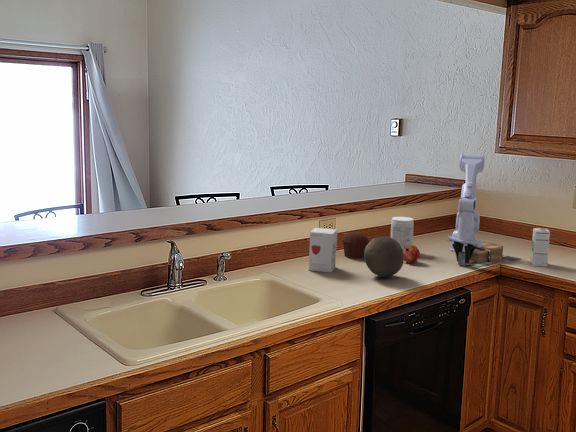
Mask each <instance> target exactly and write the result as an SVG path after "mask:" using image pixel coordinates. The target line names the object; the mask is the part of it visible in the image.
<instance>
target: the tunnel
mask: <svg viewBox="0 0 576 432" xmlns="http://www.w3.org/2000/svg"><path fill="white" fill-rule="evenodd" d="M482 242H483V245H482V247H477V246H476V249H482V250H487V251H489V252H490V255H489V261H488V262H489V263H490V264H492V263H495V262H499V261H502V260H503V259H502V257H503V255H504V254H503V251H504V245H502V244H497V243H492V242H487V241H482Z"/></svg>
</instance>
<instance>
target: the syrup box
mask: <svg viewBox="0 0 576 432" xmlns="http://www.w3.org/2000/svg"><path fill="white" fill-rule="evenodd" d="M550 235H551V231H550V230H549V229H548V228H543V227H542V228H541V227H540V228H539V227H536V228H535V227H533V229H532V239H531V249H530V250H531V251H530V261H529V262H530V264H531V265H532V266H536V267H548V262H549V261H548V260H549V248H550V238H551V237H550Z"/></svg>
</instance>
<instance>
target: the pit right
mask: <svg viewBox="0 0 576 432" xmlns="http://www.w3.org/2000/svg"><path fill="white" fill-rule="evenodd" d="M502 260H507V261H512V262H515V261H519V260H522V258H519V257H516V256H511V255H505V256H502Z"/></svg>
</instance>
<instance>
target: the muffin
mask: <svg viewBox="0 0 576 432" xmlns="http://www.w3.org/2000/svg"><path fill="white" fill-rule="evenodd" d="M370 241H371V240H370V239H369V238H368V236H367V235H365V234H364V233H363V232H361V231H360V232H359V231H350V232H348V233H346V234H344V236H343V237H342V239H341V242H342V244H343V252H344V257H345V258H348V259H354V260H357V259H360V260H361V259H365V258H364V252H365V248H366V246H367V245H368V243H369V242H370Z"/></svg>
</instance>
